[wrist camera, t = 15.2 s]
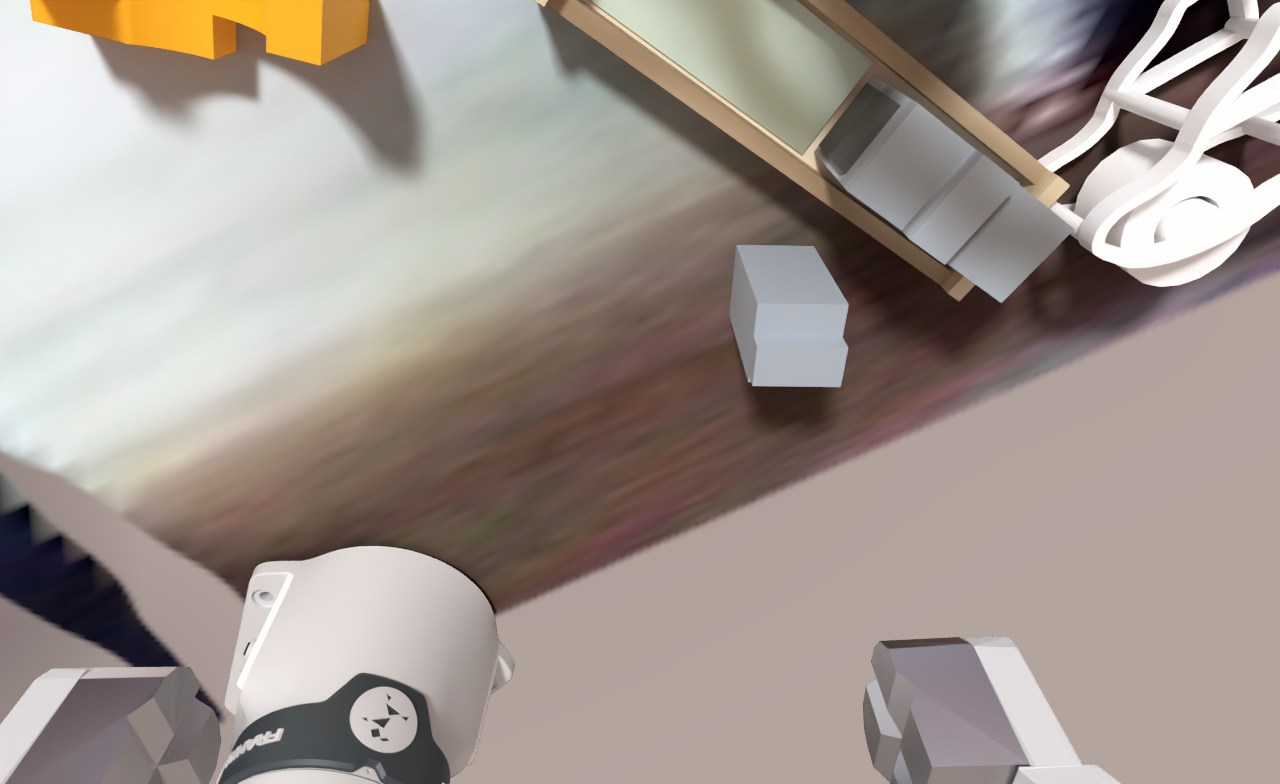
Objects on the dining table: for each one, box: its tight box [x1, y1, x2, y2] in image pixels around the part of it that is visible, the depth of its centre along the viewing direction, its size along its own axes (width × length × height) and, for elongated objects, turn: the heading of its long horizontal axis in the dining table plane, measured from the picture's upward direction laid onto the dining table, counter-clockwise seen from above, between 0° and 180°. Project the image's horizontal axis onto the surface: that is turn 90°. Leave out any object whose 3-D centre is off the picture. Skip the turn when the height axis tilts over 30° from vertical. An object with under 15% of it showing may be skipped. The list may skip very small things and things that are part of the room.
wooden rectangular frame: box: [535, 0, 1074, 303], centre depth 32 cm, size 7×24×8 cm, turn 56°
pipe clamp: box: [30, 0, 370, 66], centre depth 30 cm, size 12×4×6 cm, turn 76°
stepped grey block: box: [729, 245, 849, 387], centre depth 37 cm, size 4×4×8 cm
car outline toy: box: [1038, 0, 1280, 287], centre depth 33 cm, size 20×11×7 cm, turn 122°
